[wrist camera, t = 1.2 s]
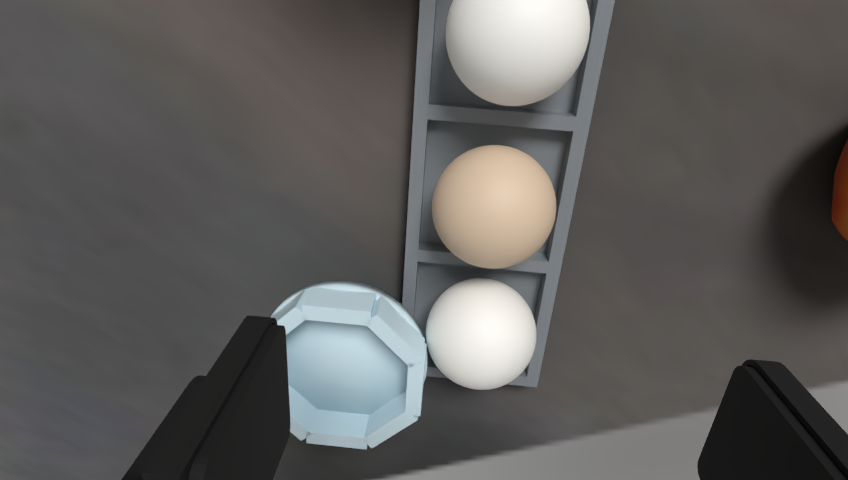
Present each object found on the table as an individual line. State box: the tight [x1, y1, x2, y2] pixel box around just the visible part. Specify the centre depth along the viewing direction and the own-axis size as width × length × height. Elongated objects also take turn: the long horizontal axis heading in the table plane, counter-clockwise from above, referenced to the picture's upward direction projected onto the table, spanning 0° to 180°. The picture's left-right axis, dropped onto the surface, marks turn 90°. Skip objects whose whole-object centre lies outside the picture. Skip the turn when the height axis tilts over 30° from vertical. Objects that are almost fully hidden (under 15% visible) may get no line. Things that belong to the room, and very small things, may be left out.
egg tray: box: [402, 0, 615, 387], centre depth 23 cm, size 7×20×1 cm, turn 176°
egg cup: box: [271, 281, 428, 450], centre depth 25 cm, size 8×8×5 cm
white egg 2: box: [426, 278, 536, 390], centre depth 24 cm, size 5×5×5 cm
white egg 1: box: [446, 0, 590, 106], centre depth 18 cm, size 5×5×5 cm
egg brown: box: [432, 145, 556, 269], centre depth 21 cm, size 5×5×5 cm
